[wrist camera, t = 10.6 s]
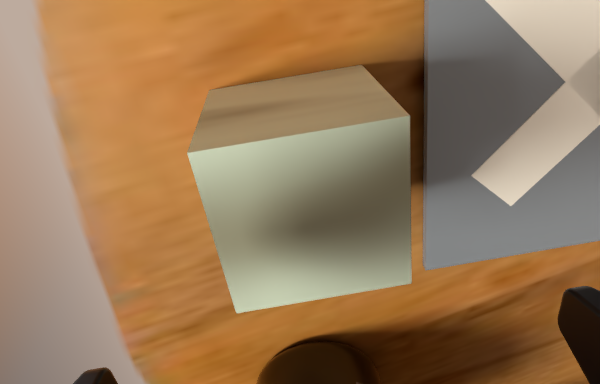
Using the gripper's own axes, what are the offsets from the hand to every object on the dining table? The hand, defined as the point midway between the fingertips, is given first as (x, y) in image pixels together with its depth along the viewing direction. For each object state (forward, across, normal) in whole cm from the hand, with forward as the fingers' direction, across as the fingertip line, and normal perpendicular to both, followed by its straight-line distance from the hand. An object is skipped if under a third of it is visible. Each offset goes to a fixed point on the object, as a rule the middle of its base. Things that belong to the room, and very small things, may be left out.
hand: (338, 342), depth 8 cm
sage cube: (+9, 0, 0) cm, 9 cm away
